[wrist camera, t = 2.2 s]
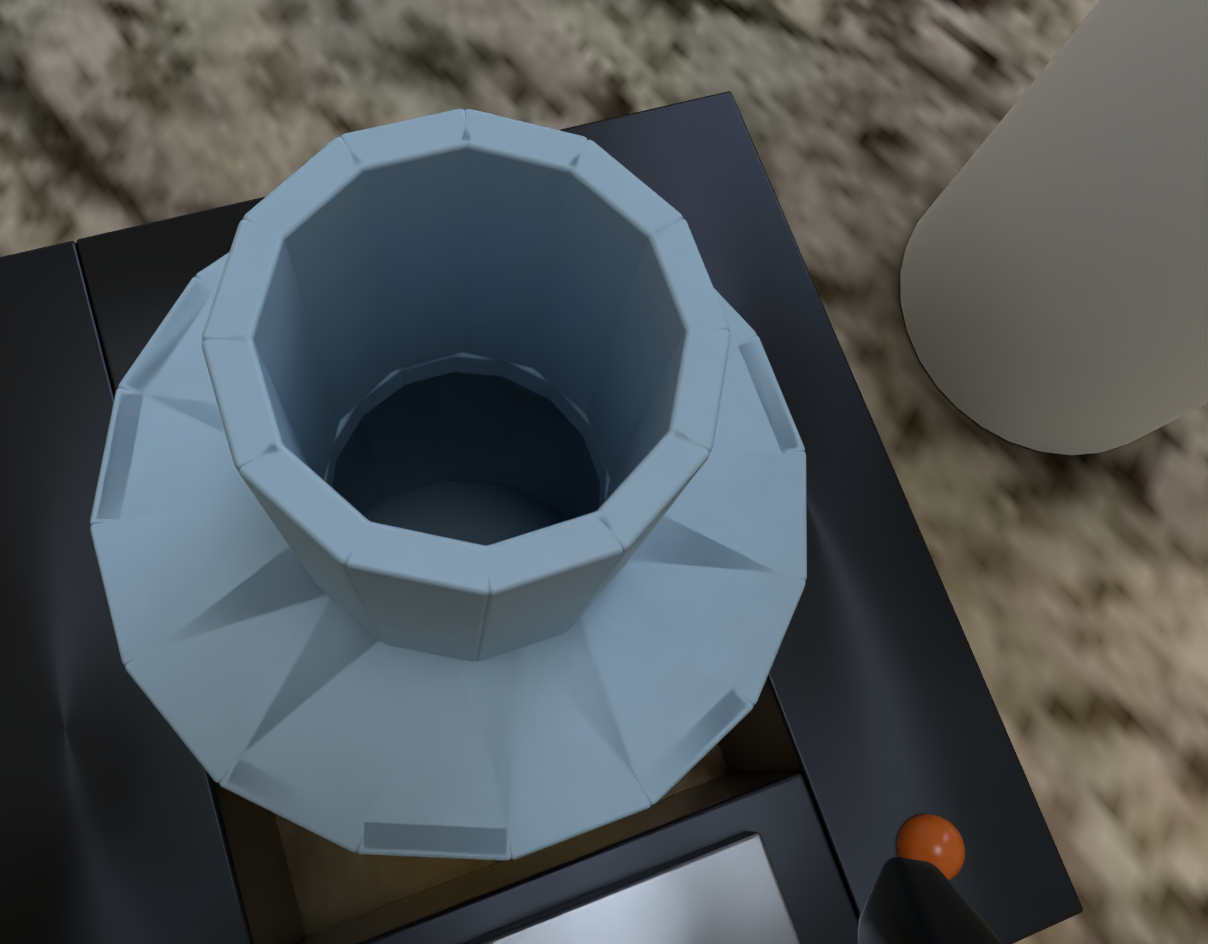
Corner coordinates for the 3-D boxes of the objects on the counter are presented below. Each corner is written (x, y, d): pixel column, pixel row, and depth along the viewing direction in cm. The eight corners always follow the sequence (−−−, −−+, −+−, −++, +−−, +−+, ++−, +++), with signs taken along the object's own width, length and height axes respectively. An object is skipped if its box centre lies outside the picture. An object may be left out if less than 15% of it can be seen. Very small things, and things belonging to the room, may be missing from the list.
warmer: (952, 885, 20) (1108, 917, 15) (154, 1229, 17) (34, 1406, 12) (681, 214, 24) (739, 68, 19) (-30, 394, 20) (-180, 272, 16)
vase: (677, 747, 20) (1145, 667, 7) (339, 872, 19) (31, 1111, 5) (565, 436, 22) (758, -159, 8) (244, 531, 20) (-190, 1, 7)
